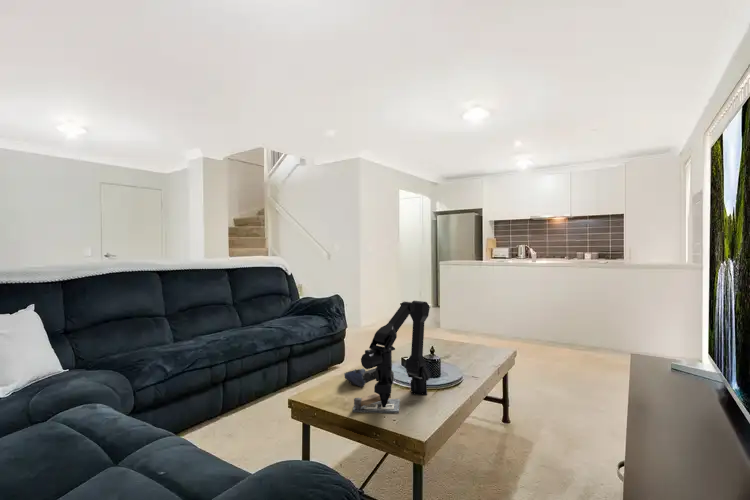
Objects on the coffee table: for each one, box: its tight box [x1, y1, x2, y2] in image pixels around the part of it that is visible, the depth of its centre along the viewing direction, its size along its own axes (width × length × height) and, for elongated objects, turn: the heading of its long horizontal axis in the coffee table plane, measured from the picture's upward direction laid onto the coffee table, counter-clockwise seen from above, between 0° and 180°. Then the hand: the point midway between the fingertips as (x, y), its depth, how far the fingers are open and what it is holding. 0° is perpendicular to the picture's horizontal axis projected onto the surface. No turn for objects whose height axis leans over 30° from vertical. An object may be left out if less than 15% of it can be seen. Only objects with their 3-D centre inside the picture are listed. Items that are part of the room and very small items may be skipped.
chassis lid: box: [351, 398, 401, 414], centre depth 152 cm, size 18×11×1 cm, turn 83°
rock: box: [343, 367, 367, 388], centre depth 178 cm, size 16×8×10 cm
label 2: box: [381, 404, 394, 409], centre depth 150 cm, size 5×4×1 cm
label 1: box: [364, 404, 378, 409], centre depth 151 cm, size 5×4×1 cm
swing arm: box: [353, 393, 392, 408], centre depth 152 cm, size 16×3×3 cm, turn 121°
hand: (384, 403), depth 149 cm, fingers open, 8 cm apart
